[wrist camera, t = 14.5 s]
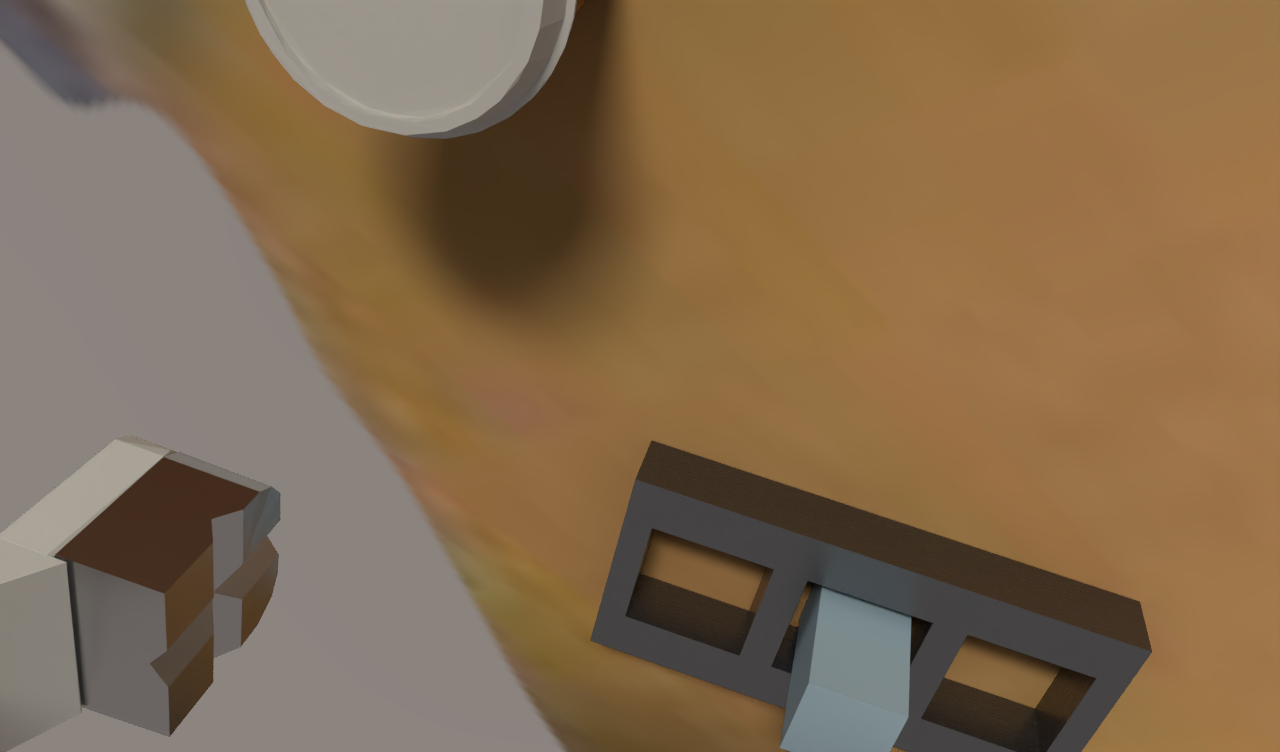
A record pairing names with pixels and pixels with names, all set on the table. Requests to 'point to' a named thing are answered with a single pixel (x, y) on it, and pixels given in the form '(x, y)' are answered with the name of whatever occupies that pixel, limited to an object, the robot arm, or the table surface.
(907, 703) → the square block
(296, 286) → the table surface
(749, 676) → the hole rail
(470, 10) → the disposable coffee cup
